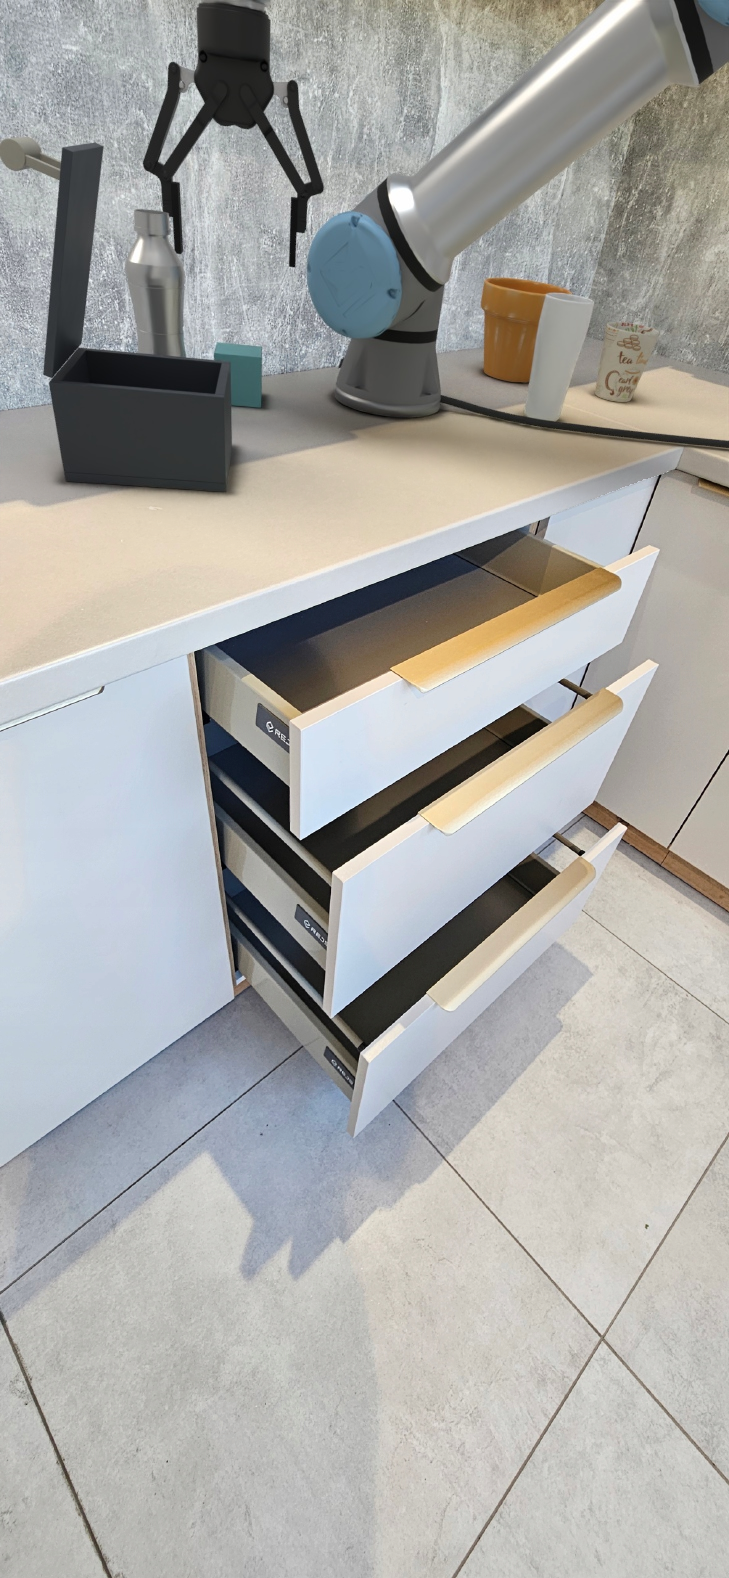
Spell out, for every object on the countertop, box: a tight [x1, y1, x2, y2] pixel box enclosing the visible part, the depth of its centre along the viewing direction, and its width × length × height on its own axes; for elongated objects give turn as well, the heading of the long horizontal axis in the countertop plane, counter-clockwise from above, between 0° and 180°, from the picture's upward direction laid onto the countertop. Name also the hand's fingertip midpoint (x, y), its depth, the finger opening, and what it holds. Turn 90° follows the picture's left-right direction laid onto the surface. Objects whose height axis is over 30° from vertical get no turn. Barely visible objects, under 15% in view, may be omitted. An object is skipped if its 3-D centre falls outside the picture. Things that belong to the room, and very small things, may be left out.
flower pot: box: [480, 276, 573, 383], centre depth 121 cm, size 14×14×13 cm
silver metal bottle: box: [124, 208, 187, 357], centre depth 85 cm, size 6×7×20 cm
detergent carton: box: [213, 341, 263, 409], centre depth 97 cm, size 6×6×6 cm
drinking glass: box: [523, 293, 595, 422], centre depth 103 cm, size 7×7×15 cm
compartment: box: [48, 347, 233, 493], centre depth 76 cm, size 16×14×9 cm
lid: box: [0, 136, 104, 379], centre depth 66 cm, size 17×14×6 cm
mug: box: [594, 321, 660, 403], centre depth 120 cm, size 8×13×10 cm, turn 158°
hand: (236, 259), depth 89 cm, fingers open, 13 cm apart
